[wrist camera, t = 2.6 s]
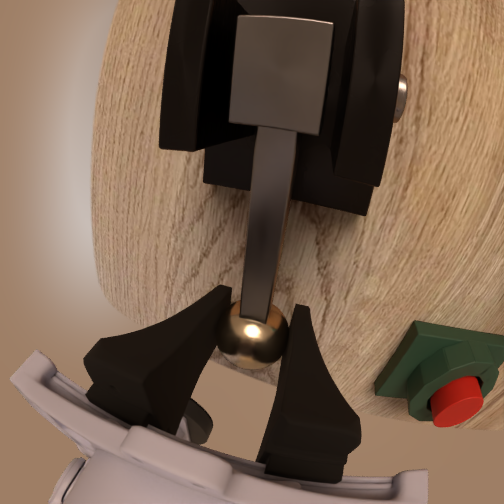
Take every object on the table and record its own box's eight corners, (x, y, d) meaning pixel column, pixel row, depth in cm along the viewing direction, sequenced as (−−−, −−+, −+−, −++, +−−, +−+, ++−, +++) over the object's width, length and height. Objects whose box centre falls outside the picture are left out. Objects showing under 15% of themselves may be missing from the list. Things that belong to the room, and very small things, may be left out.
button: (420, 405, 13) (422, 428, 11) (450, 373, 11) (455, 397, 10) (457, 406, 12) (461, 426, 11) (486, 375, 11) (493, 396, 9)
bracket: (363, 208, 11) (388, 290, 6) (212, 177, 13) (128, 229, 7) (393, 19, 7) (440, -48, 2) (233, -2, 8) (160, -65, 3)
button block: (373, 383, 16) (373, 419, 14) (415, 317, 13) (426, 356, 11) (464, 390, 15) (471, 420, 12) (510, 334, 12) (524, 364, 9)
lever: (288, 337, 14) (274, 390, 11) (228, 321, 14) (206, 370, 12) (350, 46, 6) (360, 22, 4) (248, 34, 7) (208, 11, 4)
